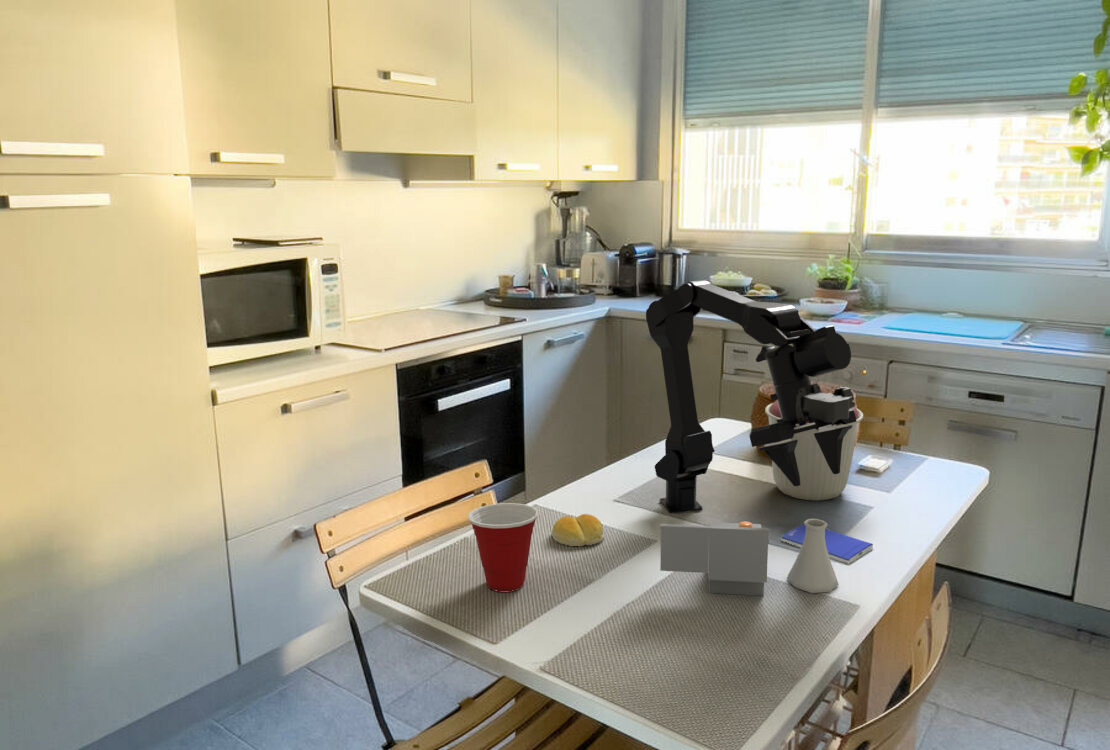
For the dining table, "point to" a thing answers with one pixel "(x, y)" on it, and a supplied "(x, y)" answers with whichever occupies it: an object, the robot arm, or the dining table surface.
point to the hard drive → (832, 544)
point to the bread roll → (578, 530)
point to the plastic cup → (504, 542)
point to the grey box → (735, 586)
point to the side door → (716, 551)
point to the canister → (815, 462)
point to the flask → (813, 561)
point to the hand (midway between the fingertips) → (817, 479)
